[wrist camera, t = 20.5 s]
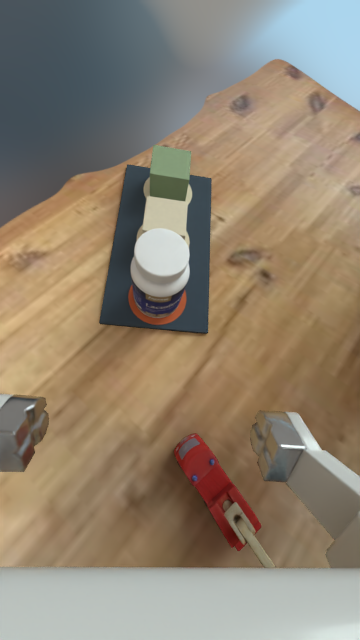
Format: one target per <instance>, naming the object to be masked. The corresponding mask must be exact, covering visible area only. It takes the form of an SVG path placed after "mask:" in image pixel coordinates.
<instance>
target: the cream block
mask: <svg viewBox="0 0 360 640" xmlns="http://www.w3.org/2000/svg"><path fill="white" fill-rule="evenodd" d="M187 207H188V202H184V201H178V200H171V199H165V198H158V197H151V196H147V198H146V205H145V213H144V220H143V228H142V234H143V233H145V232H147V231H149V230H152V229H158V228H162V229H168V230H171V231H173V232H175V233H177V234H178V235H180V236H181V237H182V238H183V239H184V240H185V237H186V223H187Z"/></svg>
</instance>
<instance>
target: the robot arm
mask: <svg viewBox="0 0 360 640" xmlns="http://www.w3.org/2000/svg"><path fill="white" fill-rule="evenodd" d="M46 405H47V404H46V399H45V398H43V397H36V396H24V395H10V394H0V472H24V471H25V469H26V468H27V466H28V464H29V462H30V461H31V459H32V457H33V455H34V454H35V450H34V446H35V445H37V444H38V443H39V442H41V441H42V439H43V438H44V436H45V434H46V431H47V428H48V425H49V416H48V413H47V412H46V411H45V410H44V408H45V407H46ZM255 418H256V421H257V422H256V423H255V424H254V425H252V428H251V431H250V440H251V445H252V448H253V451H254V452H255V453H256V454H257V455H258V456H259V459H258V462H257V463H258V466H259V468H260V471H261V474H262V477H263V480H264V481H276V482H287V483H286V484H287V485H288V486H289V487H290V489H291V490H292V491H293V492H294V493H295V494H296V496H297V497H298V498H299V499H300V500H301V501H302V503H303V504H304V505H305V506H306V507H307V508H308V510H309V511H310V512H311V513H312V514H313V515H314V517H315V518H316V519H317V520H318V521H319V522H320V524H321V525H322V526H323V527H324V528H325V529H326V531H327V532H328V533H329V534H330V535H331V536H332V538H333V539H334V542H333V543H332V544H331V545H330V547H329V548H328V549H327V551H326V554H325V555H326V558H327V560H328V562H329V564H330V567H331V568H221V567H0V640H360V476H358V475H357V474H356V473H354V472H353V471H352V470H350V469H349V468H348V467H347V466H345V465H344V464H343V463H341V462H340V461H339V460H337V459H336V458H335V457H334V456H332V455H331V454H330V453H328V452H327V451H324V450H321V448H320V446H319V445H318V443H317V442H316V440H315V439H314V437H313V436H312V434H311V432H310V431H309V429H308V428H307V426H306V425H305V423H304V421H303V420H302V418H301V417H300V415H299V414H297V413H296V412H278V411H258V412H257V414H256V417H255Z"/></svg>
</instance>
